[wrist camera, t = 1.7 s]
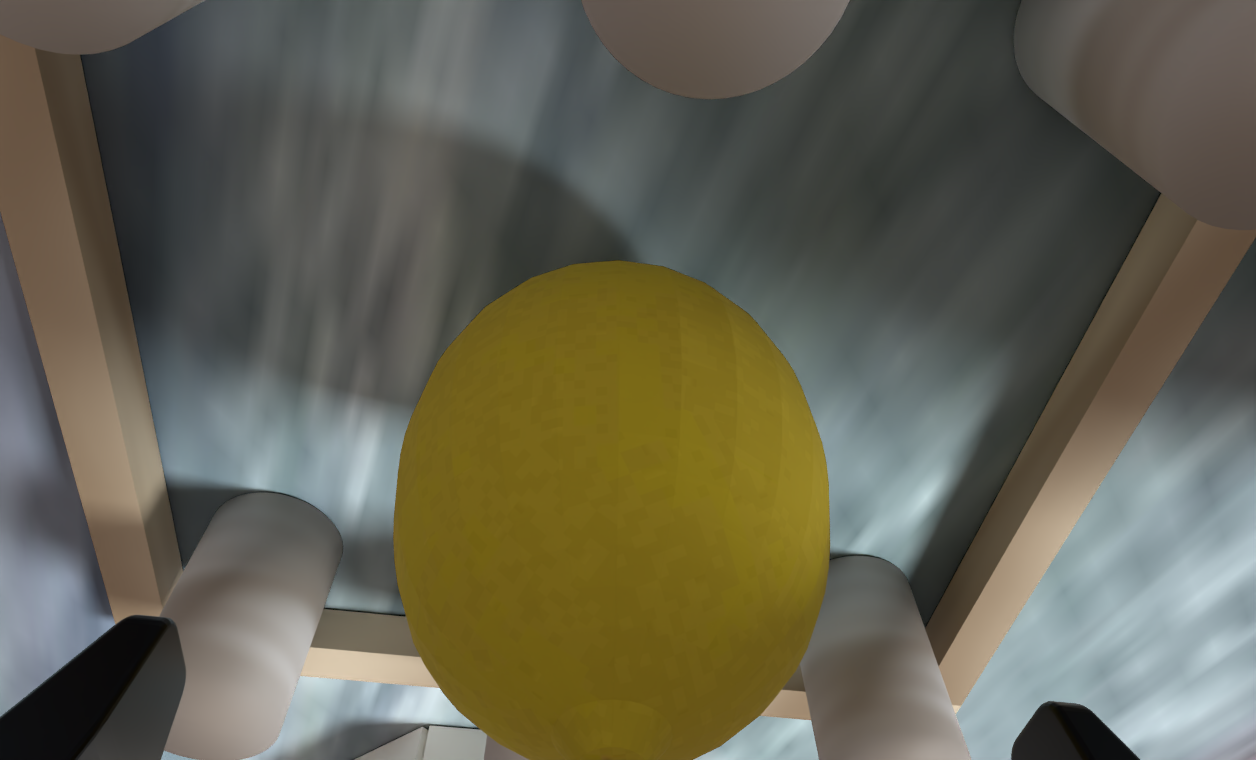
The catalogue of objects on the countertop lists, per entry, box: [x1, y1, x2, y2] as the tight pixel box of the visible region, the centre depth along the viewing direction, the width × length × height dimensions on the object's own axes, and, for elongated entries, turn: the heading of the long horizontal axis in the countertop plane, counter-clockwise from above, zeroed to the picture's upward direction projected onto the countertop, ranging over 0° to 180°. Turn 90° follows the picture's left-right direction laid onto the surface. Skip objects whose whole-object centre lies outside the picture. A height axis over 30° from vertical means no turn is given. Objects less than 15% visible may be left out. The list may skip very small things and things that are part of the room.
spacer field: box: [0, 0, 1256, 760], centre depth 13 cm, size 18×18×4 cm
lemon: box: [393, 260, 830, 760], centre depth 11 cm, size 6×6×8 cm
